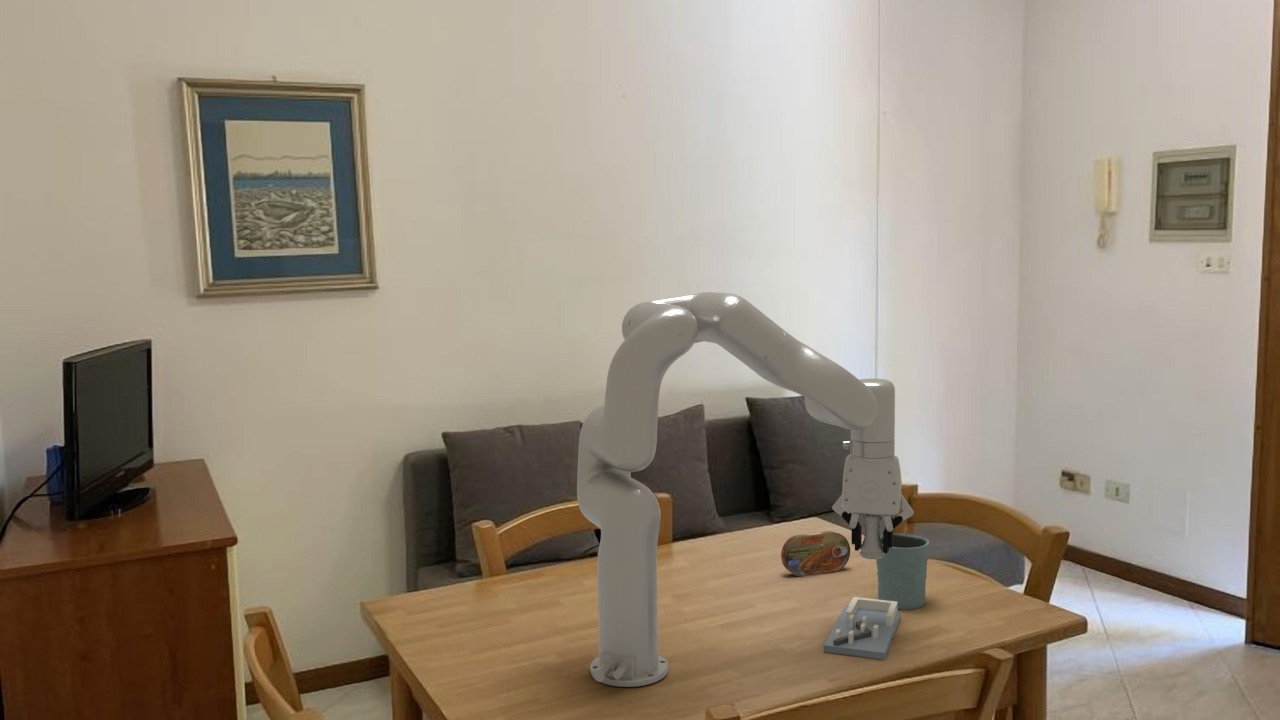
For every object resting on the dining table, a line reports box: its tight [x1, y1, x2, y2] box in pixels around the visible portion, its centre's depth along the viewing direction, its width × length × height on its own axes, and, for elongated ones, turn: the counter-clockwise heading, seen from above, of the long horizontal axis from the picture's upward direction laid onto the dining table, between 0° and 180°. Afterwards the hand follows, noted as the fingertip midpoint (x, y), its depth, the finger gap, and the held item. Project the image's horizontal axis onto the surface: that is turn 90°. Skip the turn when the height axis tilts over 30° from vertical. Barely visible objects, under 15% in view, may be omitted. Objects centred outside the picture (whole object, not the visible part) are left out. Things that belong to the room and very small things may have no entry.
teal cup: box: [875, 533, 930, 610], centre depth 196 cm, size 10×10×12 cm
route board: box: [823, 596, 901, 661], centre depth 180 cm, size 20×10×3 cm, turn 159°
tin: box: [780, 530, 851, 578], centre depth 214 cm, size 15×3×8 cm, turn 108°
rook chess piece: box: [859, 514, 885, 560], centre depth 183 cm, size 4×4×8 cm
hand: (872, 548), depth 184 cm, fingers closed on rook chess piece, 4 cm apart
